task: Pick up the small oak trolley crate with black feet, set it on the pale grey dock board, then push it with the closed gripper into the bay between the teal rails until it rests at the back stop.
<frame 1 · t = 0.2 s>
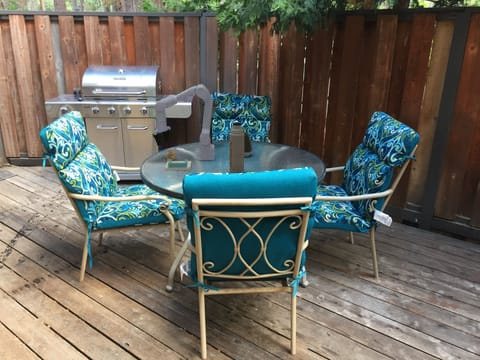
hand: (162, 144, 245), 10 cm above the table, tool pointing down, fingers open, 7 cm apart
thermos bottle: (236, 173, 226), on the table
pump dispenser: (244, 156, 257), on the table
dock: (178, 166, 235), on the table
solar garden light: (211, 147, 276), on the table
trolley: (171, 161, 245), on the table
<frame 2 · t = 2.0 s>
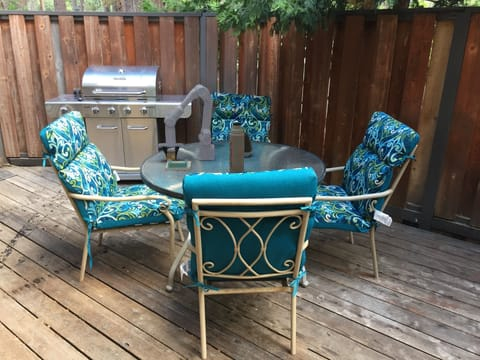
hand: (171, 158, 245), 1 cm above the table, tool pointing down, fingers closed on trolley, 4 cm apart
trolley: (171, 161, 245), on the table, touching gripper
everything else where it was.
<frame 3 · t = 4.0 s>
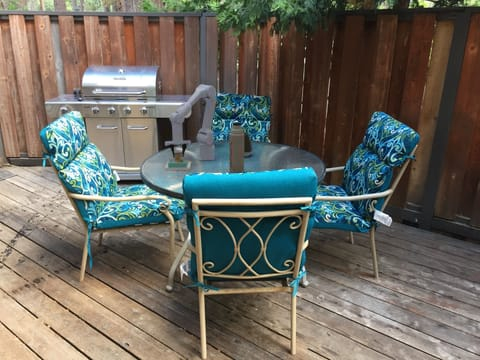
hand: (178, 156, 236), 5 cm above the table, tool pointing down, fingers closed on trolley, 4 cm apart
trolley: (178, 162, 238), point 1 cm above the table, touching dock, gripper
everything else where it was.
when the fingers open (4 cm above the table, at t = 4.7 s): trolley stays where it is, resting on dock.
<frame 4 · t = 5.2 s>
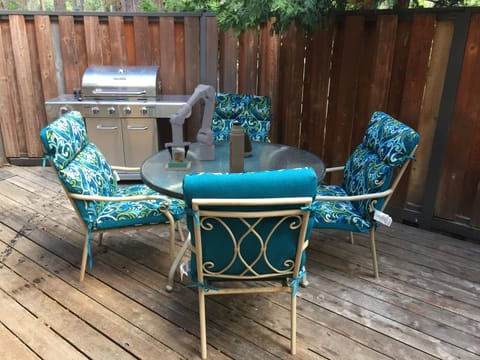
hand: (178, 158, 237), 4 cm above the table, tool pointing down, fingers open, 7 cm apart
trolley: (178, 162, 238), point 1 cm above the table, touching dock
everything else where it was.
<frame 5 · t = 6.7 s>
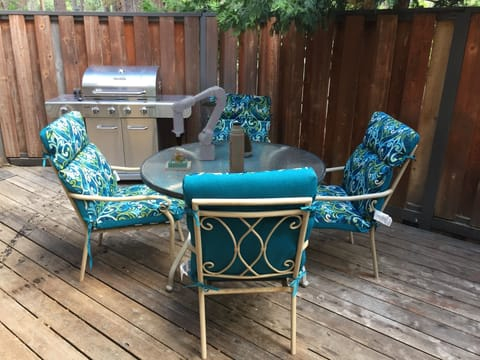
hand: (179, 145, 243), 9 cm above the table, tool pointing down, fingers closed
nothing on the table moved.
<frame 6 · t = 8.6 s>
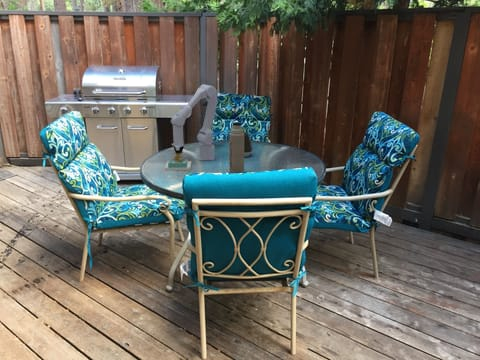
hand: (179, 158, 241), 3 cm above the table, tool pointing down, fingers closed
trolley: (178, 163, 237), point 2 cm above the table, touching gripper
everything else where it was.
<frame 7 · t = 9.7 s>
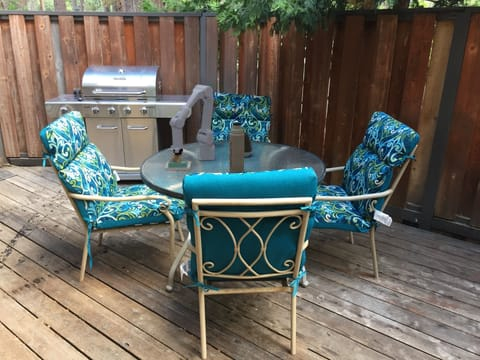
hand: (178, 161, 237), 3 cm above the table, tool pointing down, fingers closed
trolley: (176, 165, 233), point 2 cm above the table, touching dock, gripper
everything else where it was.
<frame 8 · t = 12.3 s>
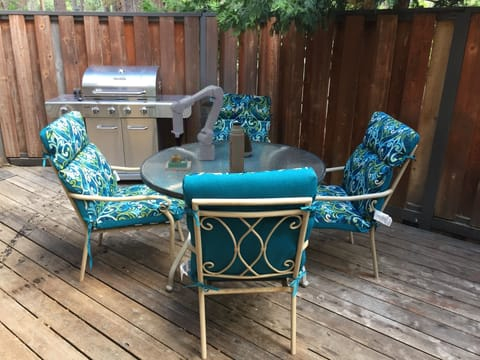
hand: (179, 146, 239), 10 cm above the table, tool pointing down, fingers closed
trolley: (176, 165, 233), point 1 cm above the table, touching dock
everything else where it was.
at the end: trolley 0.8 cm from the target spot, point 1.5 cm above the table; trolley tilted 0° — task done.
